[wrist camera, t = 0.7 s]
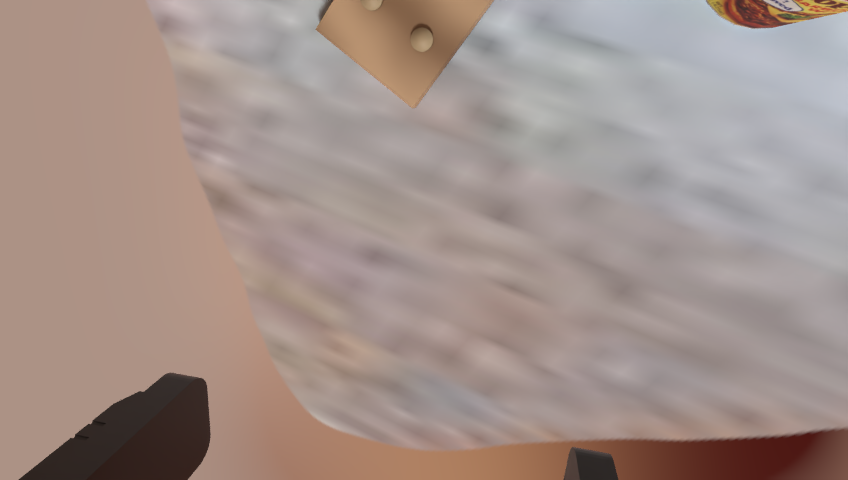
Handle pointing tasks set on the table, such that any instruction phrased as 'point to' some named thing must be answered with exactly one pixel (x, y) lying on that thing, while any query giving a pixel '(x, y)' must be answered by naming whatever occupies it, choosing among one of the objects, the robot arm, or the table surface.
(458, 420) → the table surface
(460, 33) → the hinge
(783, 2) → the canned food
